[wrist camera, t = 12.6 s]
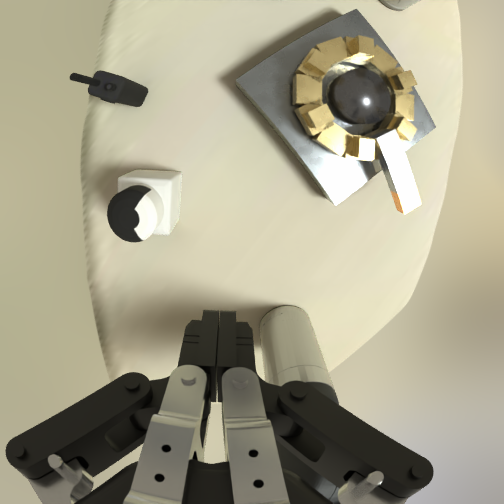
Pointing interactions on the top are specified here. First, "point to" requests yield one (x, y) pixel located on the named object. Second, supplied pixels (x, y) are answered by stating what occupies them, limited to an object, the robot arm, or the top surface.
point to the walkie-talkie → (113, 88)
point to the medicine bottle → (145, 204)
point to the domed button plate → (329, 105)
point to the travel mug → (398, 4)
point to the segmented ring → (374, 143)
